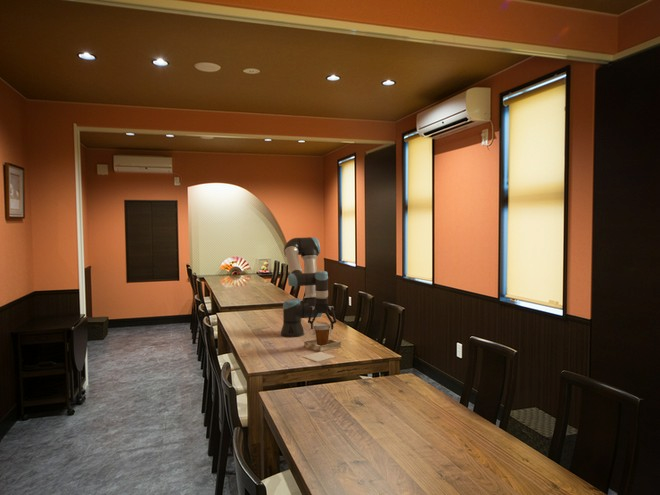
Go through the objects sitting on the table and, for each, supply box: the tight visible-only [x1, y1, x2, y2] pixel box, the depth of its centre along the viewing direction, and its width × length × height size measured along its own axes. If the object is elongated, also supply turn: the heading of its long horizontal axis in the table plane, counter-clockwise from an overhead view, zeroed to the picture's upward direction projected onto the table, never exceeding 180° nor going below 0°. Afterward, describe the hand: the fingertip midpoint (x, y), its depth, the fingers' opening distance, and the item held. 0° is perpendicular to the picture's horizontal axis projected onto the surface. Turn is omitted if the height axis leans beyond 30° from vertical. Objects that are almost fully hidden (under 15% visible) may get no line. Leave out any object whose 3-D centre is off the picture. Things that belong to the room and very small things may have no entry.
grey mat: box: [302, 351, 336, 363], centre depth 257 cm, size 13×13×1 cm
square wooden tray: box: [303, 337, 342, 352], centre depth 278 cm, size 15×15×3 cm
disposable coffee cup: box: [314, 323, 330, 346], centre depth 278 cm, size 10×10×12 cm
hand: (322, 334), depth 278 cm, fingers closed on disposable coffee cup, 9 cm apart
